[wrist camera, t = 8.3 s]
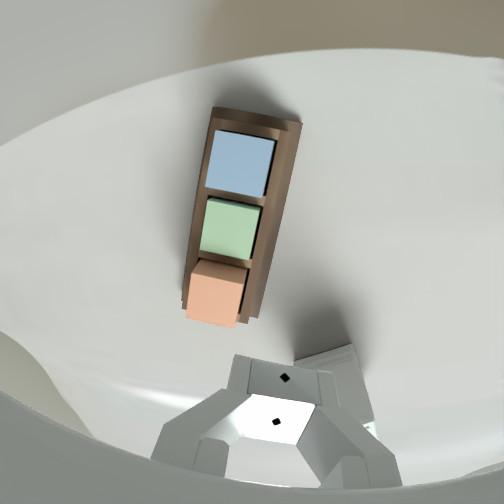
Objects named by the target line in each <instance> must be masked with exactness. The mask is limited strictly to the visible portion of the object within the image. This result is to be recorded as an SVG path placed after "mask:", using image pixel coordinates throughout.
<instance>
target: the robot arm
mask: <svg viewBox="0 0 504 504" xmlns="http://www.w3.org/2000/svg"><path fill="white" fill-rule="evenodd" d="M240 436H243V437H249V438H256V439H263V440H270V441H276V442H283V443H289V444H296V446H297V448H298V450H299V451H300V453H301V454H302V456H303V457H304V459H305V460H306V462H307V463H308V465H309V466H310V468H311V469H312V471H313V472H314V474H315V475H316V477H317V478H318V479H319V481H320V482H321V485H320V487H319V488H300V487H288V486H278V485H269V484H261V483H254V482H247V481H241V480H235V479H230V478H224V476H225V470H226V464H227V458H228V452H229V447H230V446H231V445H232V444H234V443H235V442H236V441H237V440H238V439H239V438H240ZM0 504H504V467H502V468H498V469H495V470H491V471H487V472H483V473H479V474H475V475H470V476H466V477H461V478H456V479H451V480H445V481H439V482H433V483H426V484H418V485H410V486H403V485H402V481H401V478H400V474H399V470H398V467H397V463H396V459H395V456H394V454H393V453H392V452H390V451H389V450H388V449H387V448H386V447H385V446H384V445H383V444H382V443H381V442H380V441H379V440H377V439H376V438H375V437H374V436H373V435H372V434H371V433H370V432H369V431H368V430H367V429H366V428H365V427H364V426H363V425H361V424H360V423H359V422H358V421H357V420H356V419H355V418H354V417H353V416H352V415H351V414H350V413H349V412H348V411H347V410H346V409H345V408H340V406H339V401H338V396H337V391H336V387H335V382H334V377H333V373H332V372H331V371H324V370H312V369H305V368H299V367H293V366H287V365H283V364H278V363H273V362H268V361H264V360H259V359H254V358H252V359H251V358H250V357H245V356H240V355H236V354H235V356H234V359H233V363H232V368H231V372H230V376H229V381H228V385H227V390H226V389H221V390H219V391H217V392H216V393H214V394H213V395H211V396H210V397H208V398H207V399H205V400H203V401H202V402H200V403H199V404H197V405H195V406H194V407H192V408H190V409H189V410H187V411H186V412H184V413H182V414H181V415H179V416H177V417H176V418H174V419H172V420H171V421H169V422H167V423H165V424H164V425H163V428H162V430H161V433H160V435H159V438H158V440H157V443H156V445H155V448H154V450H153V453H152V455H151V458H150V459H149V458H146V457H143V456H140V455H137V454H134V453H131V452H128V451H126V450H123V449H120V448H118V447H115V446H112V445H110V444H107V443H105V442H102V441H100V440H97V439H95V438H92V437H90V436H88V435H85V434H83V433H81V432H79V431H77V430H74V429H72V428H70V427H68V426H66V425H64V424H62V423H60V422H58V421H56V420H54V419H52V418H50V417H48V416H46V415H44V414H42V413H40V412H39V411H37V410H35V409H33V408H31V407H29V406H28V405H26V404H24V403H23V402H21V401H19V400H18V399H16V398H14V397H13V396H11V395H9V394H8V393H6V392H5V391H3V390H2V389H0Z"/></svg>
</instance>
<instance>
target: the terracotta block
mask: <svg viewBox="0 0 504 504" xmlns="http://www.w3.org/2000/svg"><path fill="white" fill-rule="evenodd" d="M247 269H248V268H246V267H242V266H237V265H232V264H228V263H223V262H219V261H214V260H210V259H206V258H201V260H200V261H199V262H198V264H197V265H196V267H195V268H194V270H193V271H192V273H191V280H190V287H189V295H188V303H187V311H186V318H190V319H194V320H198V321H202V322H207V323H211V324H215V325H219V326H224V327H228V328H233V329H234V327H235V323H236V319H237V315H238V310H239V306H240V302H241V297H242V292H243V288H244V283H245V278H246V274H247Z"/></svg>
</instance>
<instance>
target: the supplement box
mask: <svg viewBox="0 0 504 504" xmlns="http://www.w3.org/2000/svg"><path fill="white" fill-rule="evenodd" d="M294 367H299V368H305V369H312V370H324V371H331V372H332V373H333V377H334V382H335V387H336V391H337V396H338V401H339V406H340V408H345V409H346V410H347V411H348V412H349V413H350V414H351V415H352V416H353V417H354V418H355V419H356V420H357V421H358V422H359V423H360V424H361V425H363V426H364V427H365V428H366V429H367V430H368V431H369V432H370V433H371V434H372V435H373V436H374V437H375V438H376V439H377V440H379V437H378V432H377V427H376V423H375V418H374V414H373V411H372V407H371V404H370V400H369V397H368V393H367V390H366V386H365V383H364V380H363V376H362V373H361V370H360V366H359V363H358V360H357V357H356V354H355V350H354V347H353V344H352V343H351V344H348V345H345V346H342V347H339V348H336V349H333V350H330V351H327V352H323V353H320V354H317V355H313V356H310V357H307V358H303V359H300V360H296V361H294Z"/></svg>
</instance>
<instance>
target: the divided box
mask: <svg viewBox="0 0 504 504" xmlns="http://www.w3.org/2000/svg"><path fill="white" fill-rule="evenodd" d="M302 125H303V123H299V122H295V121H290V120H286V119H281V118H277V117H272V116H267V115H262V114H256V113H251V112H245V111H240V110H234V109H227V108H221V107H214V106H213V108H212V113H211V118H210V123H209V128H208V133H207V138H206V143H205V148H204V153H203V159H202V164H201V170H200V175H199V181H198V187H197V193H196V199H195V205H194V211H193V218H192V224H191V231H190V238H189V245H188V252H187V259H186V266H185V274H184V282H183V290H182V299H181V301H183V303H182V309H185V310H187V303H188V295H189V287H190V280H191V273H192V271H193V270H194V268H195V267H196V265H197V264H198V262H199V261H200V260H201V258H206V259H210V260H214V261H219V262H223V263H228V264H232V265H237V266H242V267H246V268H248V269H247V274H246V278H245V283H244V288H243V292H242V297H241V302H240V306H239V310H238V315H237V319H236V322H241V323H245V324H248V320H249V316H250V317H254V318H258V315H259V311H260V307H261V303H262V299H263V295H264V290H265V286H266V282H267V278H268V274H269V270H270V266H271V261H272V257H273V253H274V249H275V244H276V240H277V236H278V232H279V227H280V223H281V219H282V214H283V210H284V206H285V201H286V197H287V192H288V188H289V184H290V179H291V175H292V170H293V166H294V161H295V157H296V152H297V148H298V143H299V138H300V134H301V129H302ZM216 130H217V131H223V132H229V133H235V134H240V135H245V136H251V137H256V138H261V139H266V140H271V141H274V147H273V152H272V156H271V161H270V166H269V170H268V175H267V180H266V185H265V189H264V193H263V196H262V198H258V197H254V196H249V195H244V194H239V193H234V192H229V191H224V190H219V189H214V188H209V187H205V183H206V178H207V172H208V167H209V162H210V156H211V151H212V146H213V141H214V136H215V131H216ZM213 196H217V197H222V198H227V199H231V200H236V201H241V202H246V203H251V204H255V205H260V206H261V210H260V214H259V219H258V224H257V228H256V233H255V238H254V242H253V247H252V251H251V254H250V258H249V260H245V259H240V258H236V257H231V256H227V255H222V254H217V253H213V252H208V251H204V250H199V249H200V243H201V237H202V230H203V224H204V218H205V212H206V206H207V200H209V199H210V198H211V197H213Z"/></svg>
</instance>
